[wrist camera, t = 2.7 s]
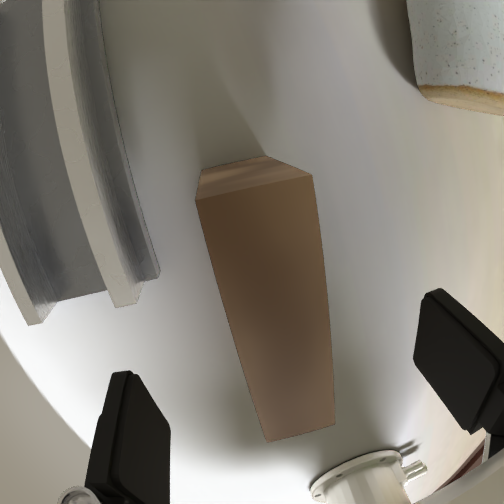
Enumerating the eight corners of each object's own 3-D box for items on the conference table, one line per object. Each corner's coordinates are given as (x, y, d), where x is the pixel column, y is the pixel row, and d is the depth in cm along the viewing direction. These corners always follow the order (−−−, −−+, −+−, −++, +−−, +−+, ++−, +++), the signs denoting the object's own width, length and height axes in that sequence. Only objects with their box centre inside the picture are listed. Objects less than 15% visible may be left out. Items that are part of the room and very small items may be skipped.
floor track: (95, -37, 10) (76, -62, 7) (160, 270, 18) (151, 300, 15) (-19, 27, 10) (-49, 17, 7) (41, 299, 17) (19, 327, 14)
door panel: (265, 155, 16) (312, 174, 9) (297, 335, 21) (335, 424, 14) (201, 169, 16) (194, 200, 9) (247, 347, 21) (266, 442, 13)
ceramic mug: (392, 101, 16) (486, 98, 9) (379, -14, 13) (455, -56, 6) (495, 121, 17) (571, 134, 10) (485, 27, 14) (556, 19, 7)
